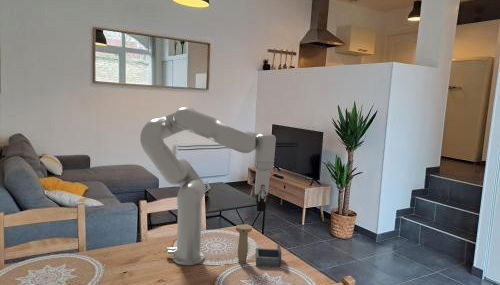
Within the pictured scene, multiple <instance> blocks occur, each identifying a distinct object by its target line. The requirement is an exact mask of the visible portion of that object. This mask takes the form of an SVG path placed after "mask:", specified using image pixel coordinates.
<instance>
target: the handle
mask: <svg viewBox="0 0 500 285" xmlns="http://www.w3.org/2000/svg"><path fill="white" fill-rule="evenodd" d="M235 230H236V232H238V233H239V235H238V236H239V237H238V238H239V239H238V245H237V261H238V263H239V264H241V265H243V264H246V263H247V260H248V259H247V256H248V253H249V252H248V250H249V248H248V246H249V245H248V244H249V243H248V240H249V233H251V232H252V230H253V226H252V225H248V224H237V225H236V226H235Z"/></svg>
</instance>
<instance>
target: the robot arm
mask: <svg viewBox="0 0 500 285" xmlns="http://www.w3.org/2000/svg"><path fill="white" fill-rule="evenodd" d="M184 131H187V132H189V133H192V134H194V135H198V136H200V137H203V138H205V139H208V140H210V141H212V142H214V143H217V144H219V145H221V146H223V147H225V148H229V149H230V150H233V151H236V152H238V153H239V152H240V153H243V154H249V153H251V152H253V151H255V156H254V165H253V166H254V167H253V168H254V169H255V170H256V172H255V179H254V180H255V183H254V194H255V195H256V200H255V204H256V211H257V212H265V211H266V206H267V205H266V203H267V201H266V196H267V195H268V194H269V193H268V192H269V184H270V174H271V171H274V167H275V166H274V165H275V153H276V145H277V144H276V143H277V141H276V140H277V139H276V138H277V137H276V136H275V135H274V134H271V133H270V134H269V133H256V132H252V131H241V130H238V129H236V128H234V127H231V126H228V125H227V124H225V123H223V122H222V121H221V120H220V119H218V118H216V117H213V116H210V115H208V114H205V113H203V112H202V113H201V112H200V111H198V110H196V109H194V108H193V107H189V106H185V107H179V108H178V109H177V110H176V111H174V112H172V113H170V114H167V115H165V116H162V117H157V118H153V119H151V120H149V121H147V122H146V123H145V124H144V126H143V127H142V130H141V132H140V138H139V140H140V145H141V147H142V150H143V152H144V153H145V154H146V155H147V157H148V158H149V159H150V161H151V162H152V164H153V165H154V166H155V169H157V170H158V172H159V173H160V174H161V176H162V177H163V179H164V180H165V181H166V183H168V184H169V185H171V186H176V185H178V187H179V190H178V192H177V198H176V202H177V203H176V206H177V234H176V235H177V236H176V238H177V239H176V246H173V247H171V246H169V247H168V246H166V250H165V252H166V253H167V255H172V261H173V262H174V263H176V264H178V265H180V266H182V265H183V266H194V265H198V264H201V263H202V262H203V261H204V259H205V254H204V253H203V252H202V251H201V246H202V217H203V215H202V214H203V212H202V211H203V210H202V209H203V208H202V202H203V198H204V196H205V194H206V185H205V183H204V180H202V178H201V177H200V175H199V174H198V173H197V171H196V170H195V169H194V167H193V166H192V165H191V163H190V162H189V161H188V160H187V159H184V158H182V157H176V156H175V154H174V153H173V151H172V150H171V149H170V147H169V146H168V145H167V144H166V143H165V142H164V140H165V139H166V138H168V137H171V136H174V135H176V134H178V133H182V132H184Z"/></svg>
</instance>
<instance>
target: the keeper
mask: <svg viewBox="0 0 500 285" xmlns="http://www.w3.org/2000/svg"><path fill="white" fill-rule="evenodd" d="M276 244H277V247H276V248H261V247H259V248H258V247H256V248H255V254H254V255H255V257H254V258H255V260H254V261H255V267H270V268H271V267H272V268H281V267H282V249H281V243H276Z"/></svg>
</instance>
